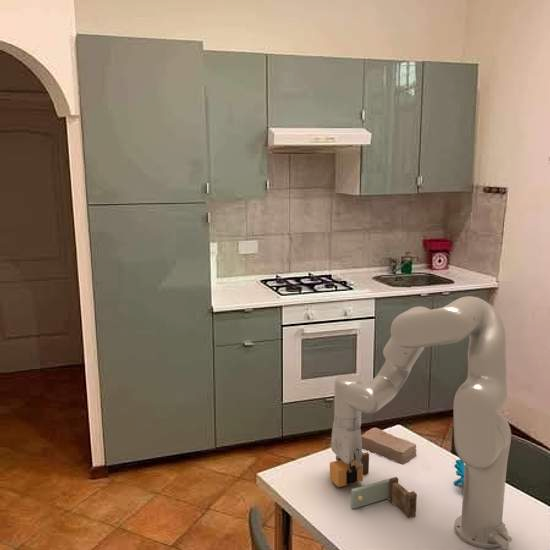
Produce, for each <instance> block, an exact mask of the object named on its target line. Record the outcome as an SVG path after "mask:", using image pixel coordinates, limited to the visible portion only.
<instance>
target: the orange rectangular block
mask: <svg viewBox="0 0 550 550" xmlns="http://www.w3.org/2000/svg"><path fill="white" fill-rule="evenodd" d="M353 459H354V458H353ZM353 465H354V463H351V467H352V466H353ZM347 471H348V466H347V464H346V463H345V462H343V461H342V460H338V461H337V460H334V461H330V462H329V479H330V481H331V482H333V484H335V485H336V486H337V487H338V488H340V487H344V486H347V485H348V484H347V483H346V476H347ZM363 477H364V475H363V464H362V468H359V469H358V471H357V482H356V483H359V482H362V481H364V478H363ZM348 486H349V485H348Z"/></svg>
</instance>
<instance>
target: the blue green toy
mask: <svg viewBox="0 0 550 550" xmlns="http://www.w3.org/2000/svg"><path fill="white" fill-rule="evenodd" d="M454 462H455V464H454V466H453V467H454V468H455V469H456V471H455V474H456V476H459V478H458V479H456V480H455V481H453V485H454V486H458V485H459V484H463V485H464V472H465V463H463V462H462V461H461V459H460V458H459V459H456V460H455V461H454Z"/></svg>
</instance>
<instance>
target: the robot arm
mask: <svg viewBox="0 0 550 550" xmlns="http://www.w3.org/2000/svg"><path fill="white" fill-rule="evenodd" d="M390 336H391V337H390V338H389V340H388V341H387V343H386V344H385V346H384V348H383V350H382V355H383V357H384V359H385V361H384V364H383V365H382V366H381V368H380V370H379V371H378V373H377V374H376V376H374V378H373V379H371V380H369V381H367V382H366V383H364V384H363V383H362V380H361V378H359V377H358V376H355V375H351V374H345V375H340V376H338V377H336V379H335V381H334V405H333V406H334V413H333V415H334V417H333V419H334V420H333V423H332V428H331V429H332V430H331V439H330V440H331V443H330V448H331V450H332V452H333V453H334V454H335V461H338V460H342V461H343V462H345V463H346V464H347V466H348V471H347V476H346V483H347V484H348V486H349V485H352V484H356V483H358V482H357V471H358V469H359V468H362V463H361V457H362V452H363V448H362V439H361V435H362V429H361V426H362V413H363V414H367V415H371V414H372V415H373V414H375V413H377V412H378V411H379V410H381V409H382V408H384V407H385V406H386V405H387V404H388V403H390V402H391V401H393V399H394V398H395V397H396V395H397V394H398V393H399V392H400V390H401V388H402V387H403V385H404V384H405V383H406V381H407V379H408V377H409V375H410V373H411V371H412V368H413V366H414V364H415V363H416V361H417V360H418V358H419V357H420V355H421V354H422V352H423V351H424V350H425V348H426V347H427V348H428V347H436V346H441V345H449V344H454V343H459V342H460V341H463V340H464V339H466V338H468V339H469V340H468V341H469V342H468V347H467V348H468V349H467V377H466V379H465V381H464V382H463V383H462V384H461V385H460V386H459V387H458V389H457V390H456V392H455V395H454V399H453V405H452V406H453V411H452V412H453V440H454V442H453V443H454V448H455V452H456V455H457V456H458V458H459V460H460V459H461V461H462V462H463V463H464V465H465V472H464V483H463V488H462V489H463V490H462V491H463V492H462V506H461V507H462V508H461V515H459V516H458V517H456V519H455V521H454V531H455V533H456V534H457V536H458V538H459V537H460V539H462V540H463V541H464V542H466V543H468V544H470V545H472V546H475V547H479V548H484V549H494V548H499V547H500V548H501V549H503V550H506V549H507V548H508V547H509V543H511V542H512V541H513V537H512V536H510V535H509V533H508V530H507V527H506V524H505V523H504V522H503V516H504V503H505V489H506V481H507V480H506V479H507V477H506V476H507V468H508V459H509V453H510V447H511V441H512V430H511V426H510V424H509V422H508V420H507V419H506V418H505V417H504V416H503V415H502V414H500V413H499V411H500V409H501V408H503V405H505V402H506V400H507V396H508V387H507V385H508V384H507V383H508V382H507V349H506V348H507V345H506V330H505V326H504V322H503V320H502V317H501V316H500V314H499V312H498V311H497V310H496V309H495V308H494V307H493V306H492V305H491V304H490V303H489V302H487V301H486V300H484V299H482V298H480V297H477V296H473V295H472V296H470V295H469V296H462V297H459V298H457V299H455V300H453V301H452V302H450V303H448V304H447V305H444V306H442V307H438V308H433V309H430V308H428V307H425V306H422V305H421V306H414V307H411V308H409V309H408V310H406V311H403V312H401V313H399V314H398V315H397V316H396V317H395V318H394V319H393V320H392V323H391V325H390ZM353 458H354V459H353ZM351 463H354V465H353V466H352V467H351Z"/></svg>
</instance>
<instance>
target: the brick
mask: <svg viewBox="0 0 550 550" xmlns="http://www.w3.org/2000/svg"><path fill="white" fill-rule="evenodd" d="M361 439H362V449H364V450H366V451H368V450H369V452H370V451H371V452H370V453H373V452H374V453H373V454H375V453H376V454H375V455H378V456H380V455H381V456H380V457H383V456H384V457H383V458H385V457H386V459H388V460H391V461H392V462H396V463H400V464H401V465H405V464H407V463H408V462H410V461H411V460H412V459H414V458H415V459H416V458H417V444H416V443H414V442H412V441H409V440H407V439H404V438H401V437H397V436H394V435H393V434H391V433H388V432H386V431H385V430H382V429H380V428H377V427H372V428H370V429H369V430H367V431H365V432H364V434H361Z"/></svg>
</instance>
